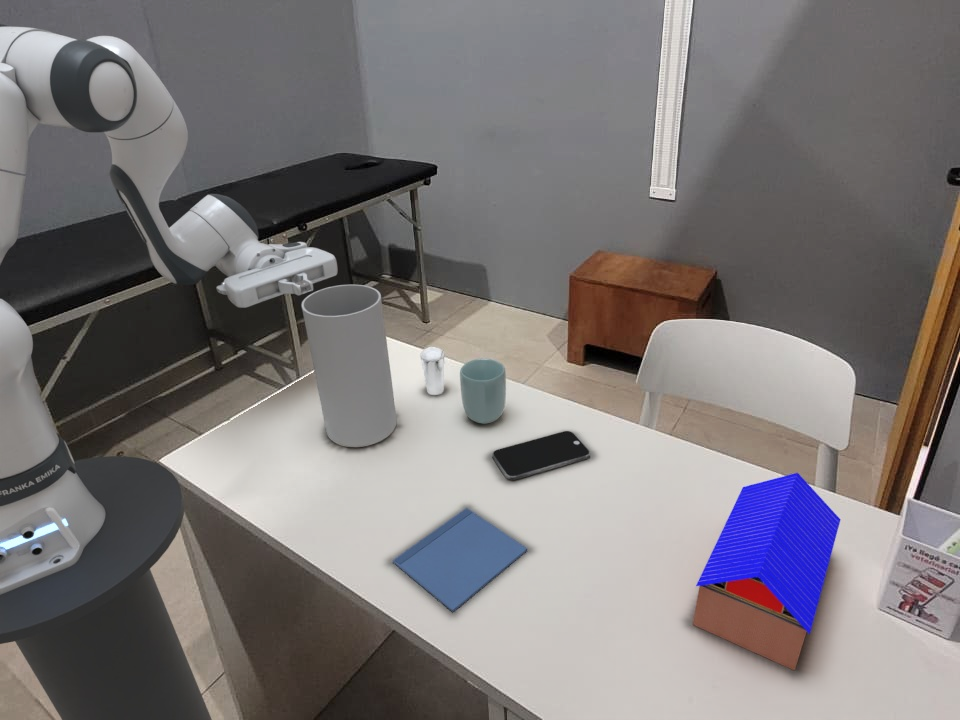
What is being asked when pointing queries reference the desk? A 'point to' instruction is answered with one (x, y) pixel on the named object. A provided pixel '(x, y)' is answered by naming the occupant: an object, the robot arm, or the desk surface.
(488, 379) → the cup
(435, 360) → the milkshake
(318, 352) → the cylinder vase
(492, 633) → the desk surface
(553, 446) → the smartphone
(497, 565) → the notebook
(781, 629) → the house
